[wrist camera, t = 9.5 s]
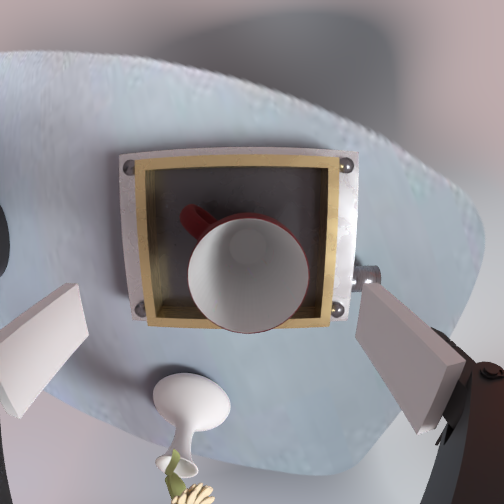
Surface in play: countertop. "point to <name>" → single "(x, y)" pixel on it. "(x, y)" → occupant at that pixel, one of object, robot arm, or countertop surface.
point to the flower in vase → (187, 429)
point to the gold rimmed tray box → (233, 202)
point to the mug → (244, 270)
